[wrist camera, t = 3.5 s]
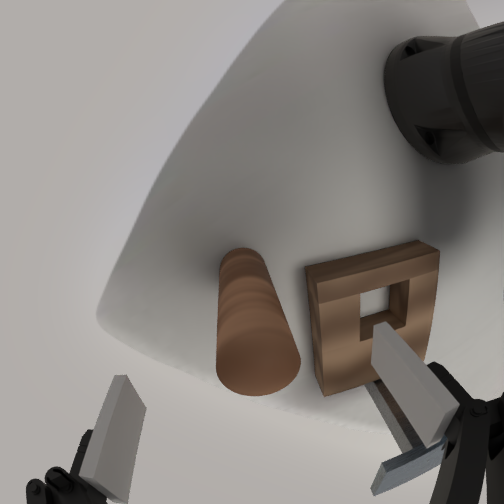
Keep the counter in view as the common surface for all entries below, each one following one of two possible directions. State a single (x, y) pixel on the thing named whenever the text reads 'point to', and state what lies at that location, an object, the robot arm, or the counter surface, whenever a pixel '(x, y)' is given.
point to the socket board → (361, 329)
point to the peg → (252, 329)
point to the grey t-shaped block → (401, 444)
